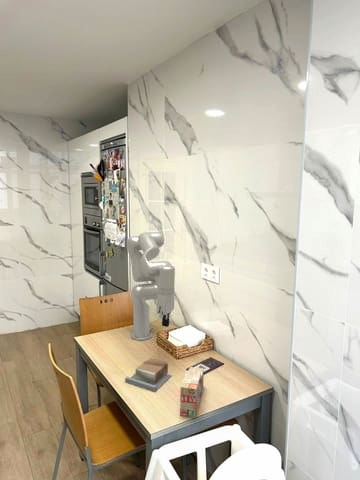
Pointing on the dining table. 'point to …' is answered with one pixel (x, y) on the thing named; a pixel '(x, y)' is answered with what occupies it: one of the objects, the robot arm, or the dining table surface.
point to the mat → (145, 385)
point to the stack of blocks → (191, 392)
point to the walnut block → (151, 371)
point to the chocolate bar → (208, 365)
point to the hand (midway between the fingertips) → (165, 325)
